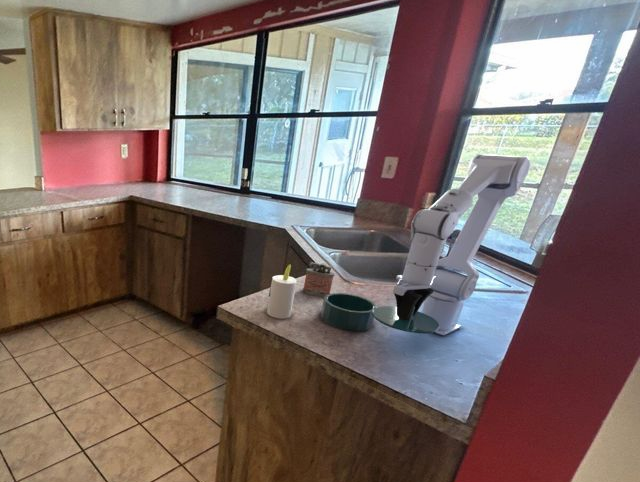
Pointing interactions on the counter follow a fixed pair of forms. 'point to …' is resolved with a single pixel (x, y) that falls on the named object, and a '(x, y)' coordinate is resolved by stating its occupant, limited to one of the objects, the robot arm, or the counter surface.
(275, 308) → the candle
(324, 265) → the brick planter box
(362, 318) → the pot
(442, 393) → the counter surface
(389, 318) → the cover
